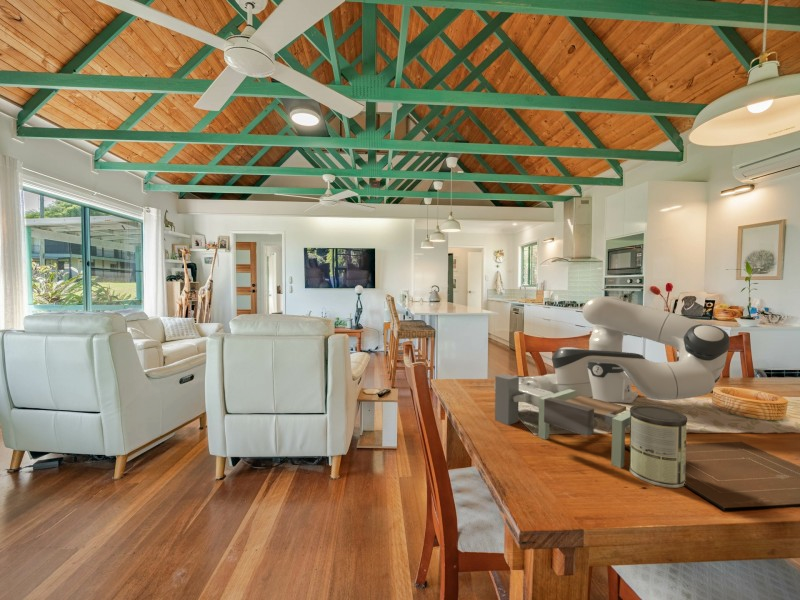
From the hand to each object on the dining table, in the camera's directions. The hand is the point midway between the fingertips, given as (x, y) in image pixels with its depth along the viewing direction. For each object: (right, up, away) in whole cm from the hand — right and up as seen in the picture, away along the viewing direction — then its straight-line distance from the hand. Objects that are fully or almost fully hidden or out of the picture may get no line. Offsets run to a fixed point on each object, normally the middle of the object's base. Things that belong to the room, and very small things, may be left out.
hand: (504, 396), depth 110 cm
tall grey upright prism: (+1, -8, +1) cm, 8 cm away
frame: (+19, -8, -15) cm, 26 cm away
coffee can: (+24, -9, -32) cm, 41 cm away
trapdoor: (+16, -2, -18) cm, 24 cm away
